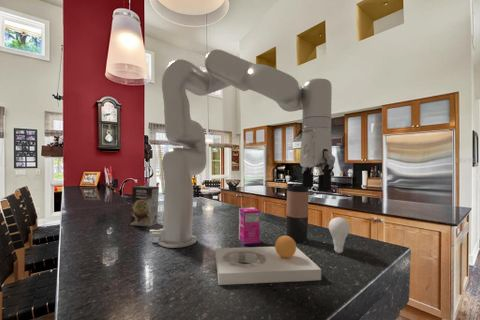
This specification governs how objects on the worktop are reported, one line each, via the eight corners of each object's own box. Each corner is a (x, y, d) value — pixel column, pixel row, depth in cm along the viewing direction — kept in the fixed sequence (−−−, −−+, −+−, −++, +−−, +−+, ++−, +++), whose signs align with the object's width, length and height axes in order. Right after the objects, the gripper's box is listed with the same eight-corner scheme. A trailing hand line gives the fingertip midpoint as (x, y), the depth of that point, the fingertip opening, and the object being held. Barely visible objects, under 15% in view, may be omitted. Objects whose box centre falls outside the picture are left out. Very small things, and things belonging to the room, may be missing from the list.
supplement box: (238, 240, 84) (238, 207, 84) (253, 239, 86) (254, 207, 86) (243, 245, 79) (244, 210, 79) (260, 244, 80) (260, 210, 81)
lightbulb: (323, 251, 76) (324, 216, 76) (338, 248, 78) (339, 214, 78) (338, 258, 70) (339, 220, 70) (354, 255, 73) (354, 219, 73)
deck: (218, 284, 53) (219, 273, 53) (215, 256, 69) (215, 248, 69) (321, 280, 56) (321, 269, 56) (295, 254, 72) (295, 246, 72)
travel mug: (305, 236, 90) (306, 183, 91) (309, 243, 83) (310, 185, 83) (285, 235, 91) (286, 183, 91) (286, 242, 83) (288, 184, 84)
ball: (278, 261, 60) (279, 239, 60) (272, 253, 66) (272, 233, 66) (299, 260, 61) (299, 239, 61) (291, 252, 66) (292, 232, 67)
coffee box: (130, 225, 100) (131, 186, 101) (139, 221, 107) (140, 185, 107) (150, 226, 99) (151, 187, 99) (158, 223, 105) (159, 186, 105)
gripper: (291, 129, 74) (290, 185, 73) (318, 119, 56) (317, 192, 56) (314, 131, 75) (313, 186, 74) (348, 121, 58) (347, 192, 57)
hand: (315, 188), depth 65 cm, fingers open, 9 cm apart
